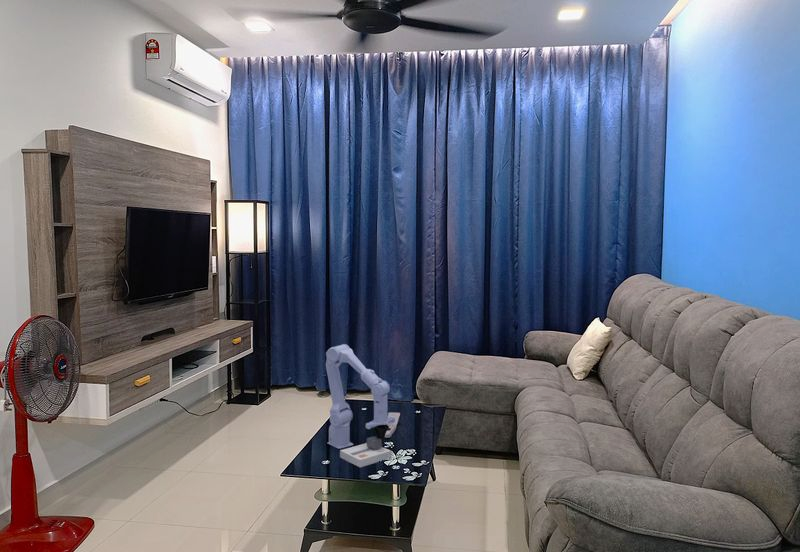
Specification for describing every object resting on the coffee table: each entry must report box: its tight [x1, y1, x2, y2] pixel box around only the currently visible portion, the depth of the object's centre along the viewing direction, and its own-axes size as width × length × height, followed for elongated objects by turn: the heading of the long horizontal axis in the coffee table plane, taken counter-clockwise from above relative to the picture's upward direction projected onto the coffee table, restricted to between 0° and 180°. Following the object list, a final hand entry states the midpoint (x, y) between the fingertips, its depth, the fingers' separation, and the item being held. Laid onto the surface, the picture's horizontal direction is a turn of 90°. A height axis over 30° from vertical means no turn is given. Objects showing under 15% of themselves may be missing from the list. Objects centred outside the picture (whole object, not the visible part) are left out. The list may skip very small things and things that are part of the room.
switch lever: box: [366, 436, 383, 450], centre depth 243 cm, size 4×5×4 cm
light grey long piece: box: [384, 412, 401, 439], centre depth 273 cm, size 6×6×25 cm
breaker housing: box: [339, 442, 392, 468], centre depth 240 cm, size 16×14×3 cm
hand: (380, 442), depth 245 cm, fingers closed
